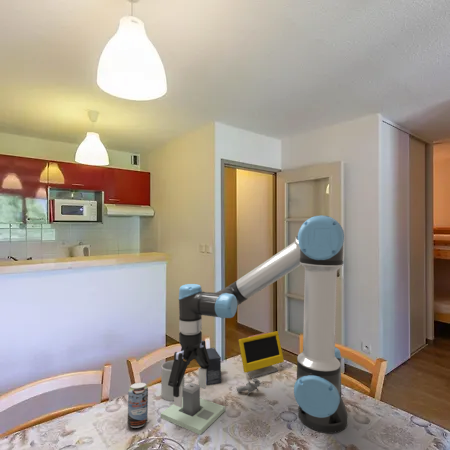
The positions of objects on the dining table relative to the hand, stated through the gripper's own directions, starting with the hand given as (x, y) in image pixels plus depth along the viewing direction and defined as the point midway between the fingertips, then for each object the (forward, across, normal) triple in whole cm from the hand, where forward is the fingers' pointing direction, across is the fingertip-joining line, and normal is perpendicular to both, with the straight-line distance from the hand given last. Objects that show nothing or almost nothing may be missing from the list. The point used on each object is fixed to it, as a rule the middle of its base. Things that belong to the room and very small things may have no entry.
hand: (190, 396), depth 101 cm
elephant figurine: (+6, -20, +11) cm, 24 cm away
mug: (+6, -7, -14) cm, 17 cm away
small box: (+6, -23, -8) cm, 25 cm away
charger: (+6, 0, 0) cm, 6 cm away
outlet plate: (+6, 0, +1) cm, 6 cm away
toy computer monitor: (+6, -39, +7) cm, 40 cm away
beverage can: (+6, +13, -11) cm, 18 cm away
